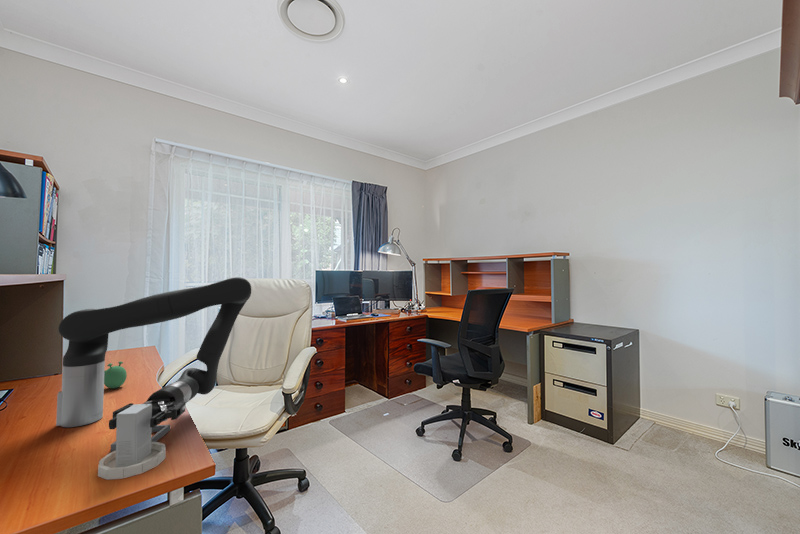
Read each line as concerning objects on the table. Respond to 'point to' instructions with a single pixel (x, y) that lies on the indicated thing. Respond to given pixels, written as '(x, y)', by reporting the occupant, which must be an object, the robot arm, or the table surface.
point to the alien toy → (114, 376)
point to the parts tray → (161, 432)
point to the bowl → (110, 470)
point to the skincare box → (133, 435)
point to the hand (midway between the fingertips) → (131, 424)
